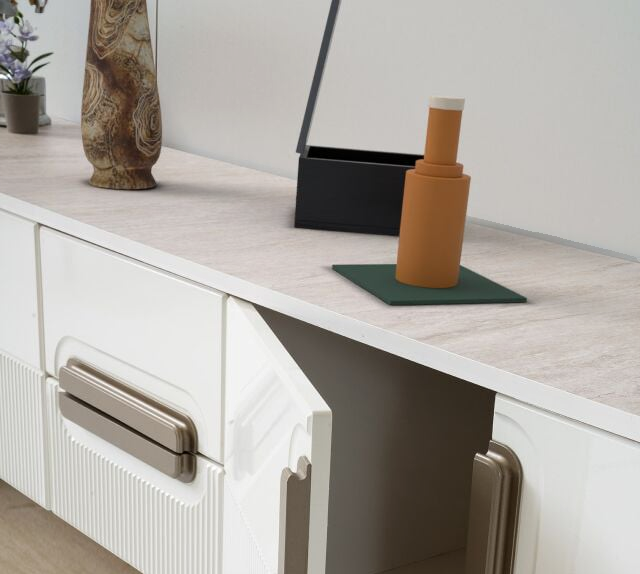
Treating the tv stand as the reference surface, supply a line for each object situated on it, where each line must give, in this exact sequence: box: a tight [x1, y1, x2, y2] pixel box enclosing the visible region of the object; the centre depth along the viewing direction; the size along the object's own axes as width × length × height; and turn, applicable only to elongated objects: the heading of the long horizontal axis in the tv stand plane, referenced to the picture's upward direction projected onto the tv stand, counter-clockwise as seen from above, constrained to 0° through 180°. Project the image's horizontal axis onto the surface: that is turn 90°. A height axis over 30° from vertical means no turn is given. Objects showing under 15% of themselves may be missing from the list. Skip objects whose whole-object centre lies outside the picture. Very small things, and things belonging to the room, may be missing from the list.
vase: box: [80, 0, 163, 190], centre depth 142 cm, size 10×11×30 cm
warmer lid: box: [295, 0, 343, 155], centre depth 129 cm, size 16×13×1 cm
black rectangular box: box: [293, 144, 424, 237], centre depth 134 cm, size 16×13×8 cm
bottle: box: [395, 94, 472, 288], centre depth 105 cm, size 6×6×17 cm
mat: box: [331, 263, 528, 306], centre depth 108 cm, size 14×14×1 cm
